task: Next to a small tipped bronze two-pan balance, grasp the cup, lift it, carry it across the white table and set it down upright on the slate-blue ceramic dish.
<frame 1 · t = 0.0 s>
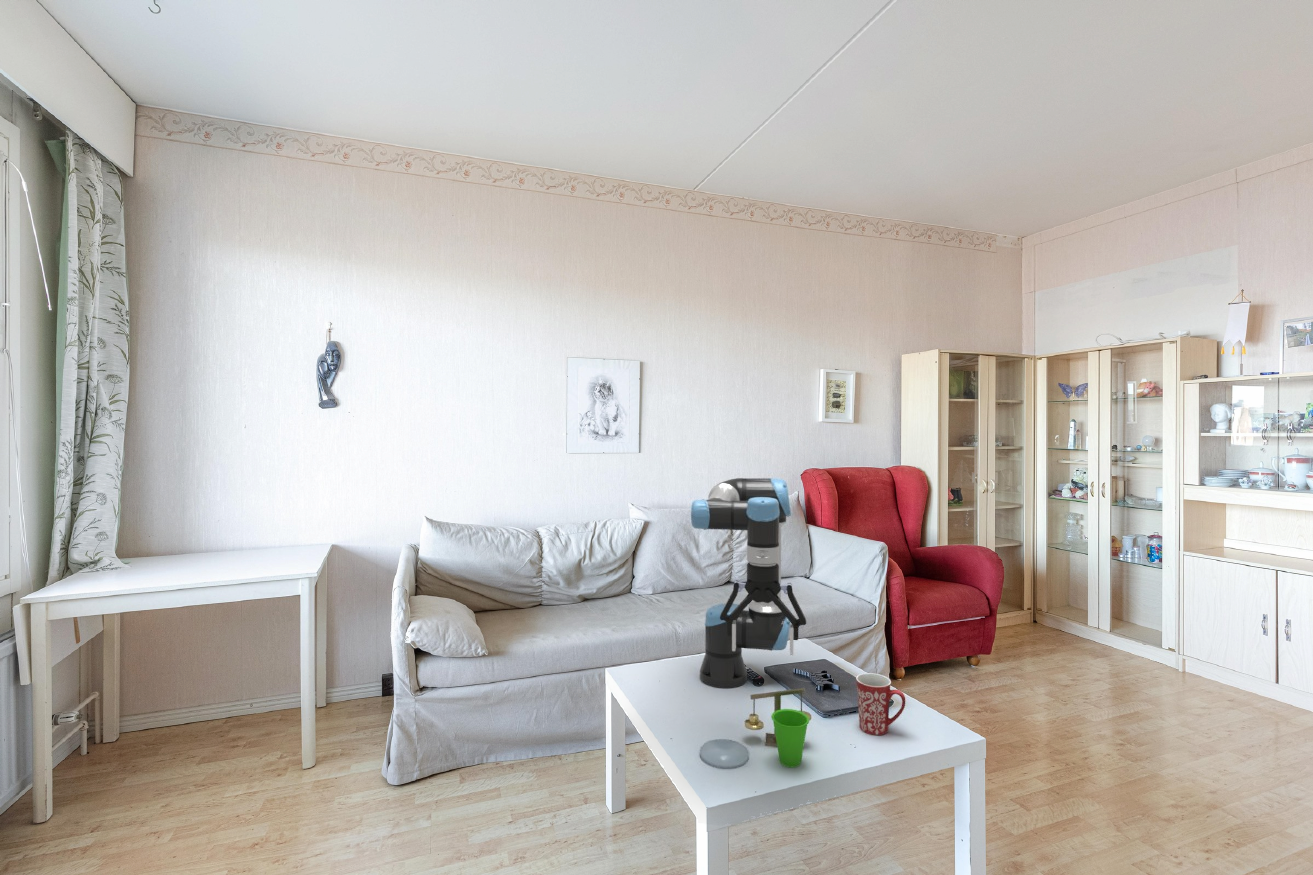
hand: (762, 651, 149), 28 cm above the table, fingers open, 13 cm apart
mug: (879, 731, 167), on the table
balance: (777, 741, 161), on the table
dish: (724, 755, 155), on the table
cup: (790, 762, 152), on the table
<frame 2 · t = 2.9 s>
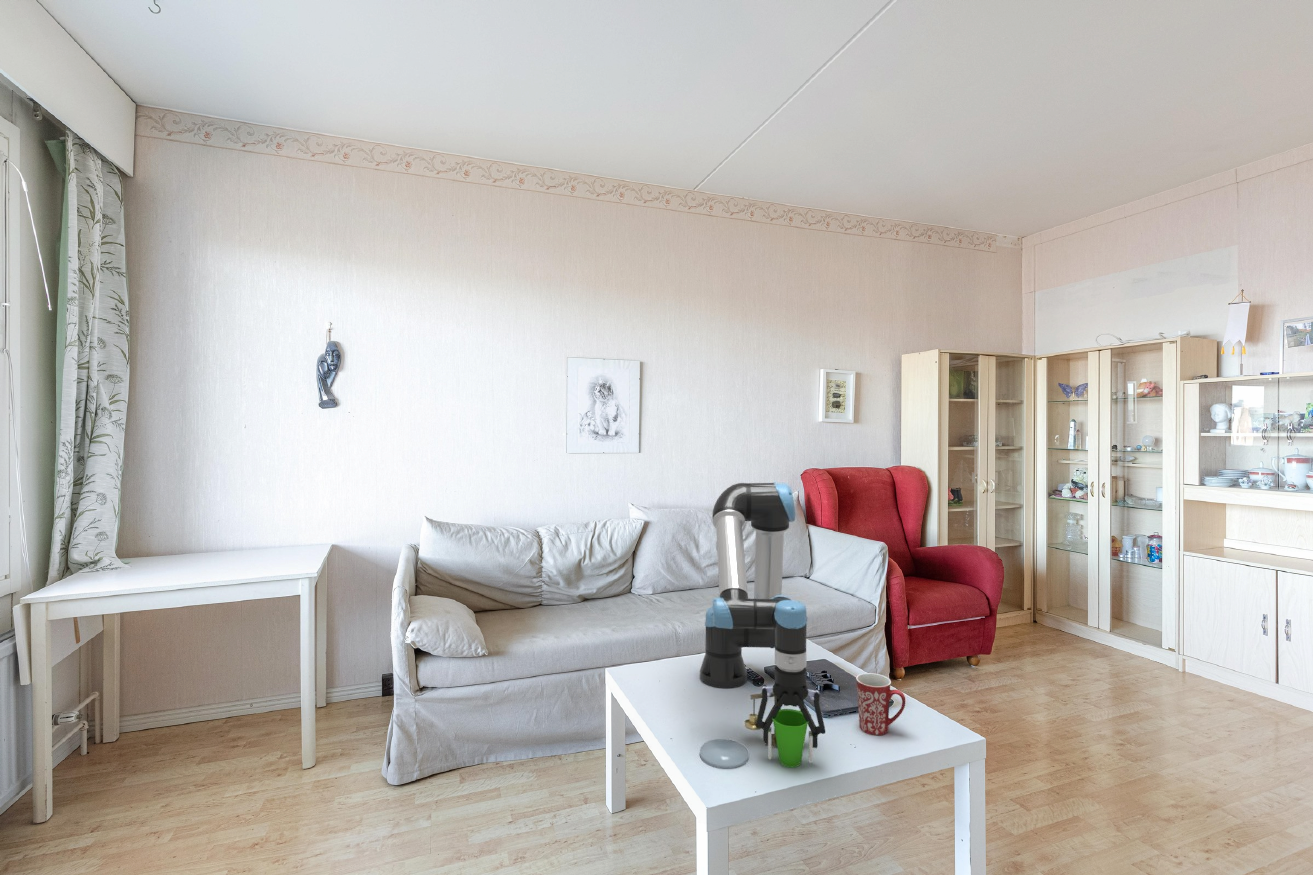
hand: (790, 757, 152), 1 cm above the table, fingers closed on cup, 9 cm apart
cup: (790, 762, 152), on the table, touching gripper
everything else where it was.
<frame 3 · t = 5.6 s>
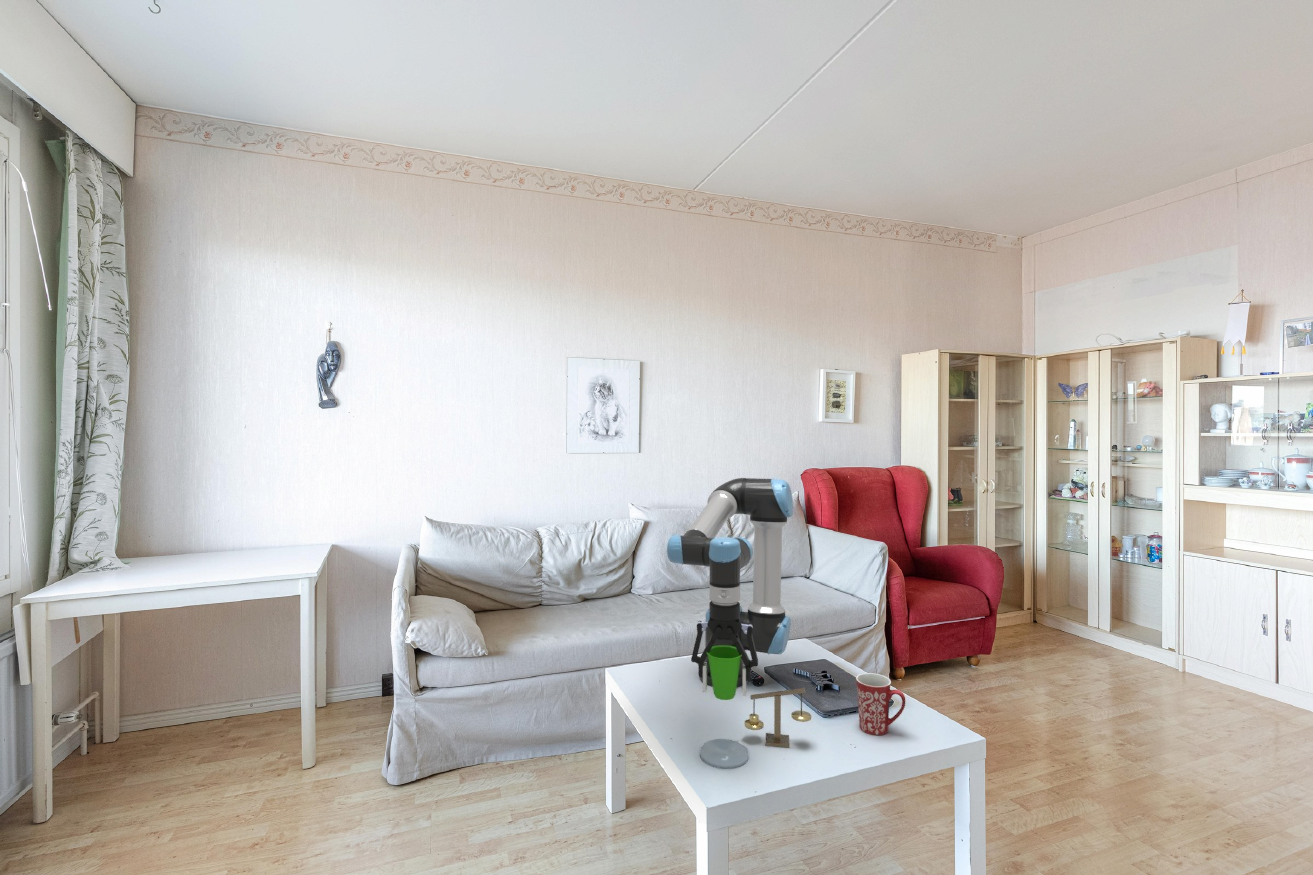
hand: (724, 691, 154), 16 cm above the table, fingers closed on cup, 9 cm apart
cup: (724, 696, 154), point 15 cm above the table, touching gripper
everything else where it was.
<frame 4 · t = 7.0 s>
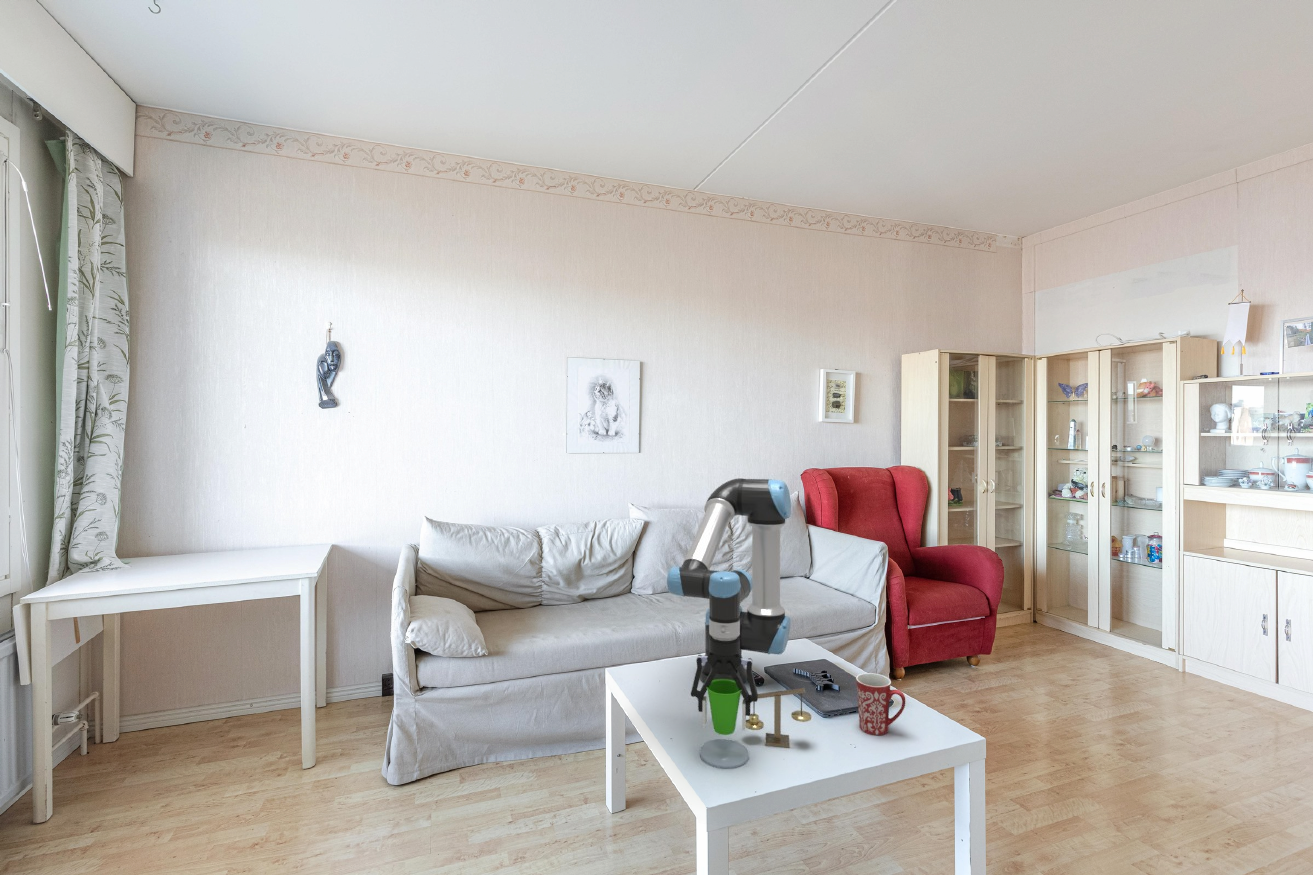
hand: (724, 725, 154), 7 cm above the table, fingers closed on cup, 9 cm apart
cup: (724, 730, 154), point 6 cm above the table, touching gripper
everything else where it was.
when the fingers open (4 cm above the table, at t = 8.2 s): cup drops 2 cm, resting on dish.
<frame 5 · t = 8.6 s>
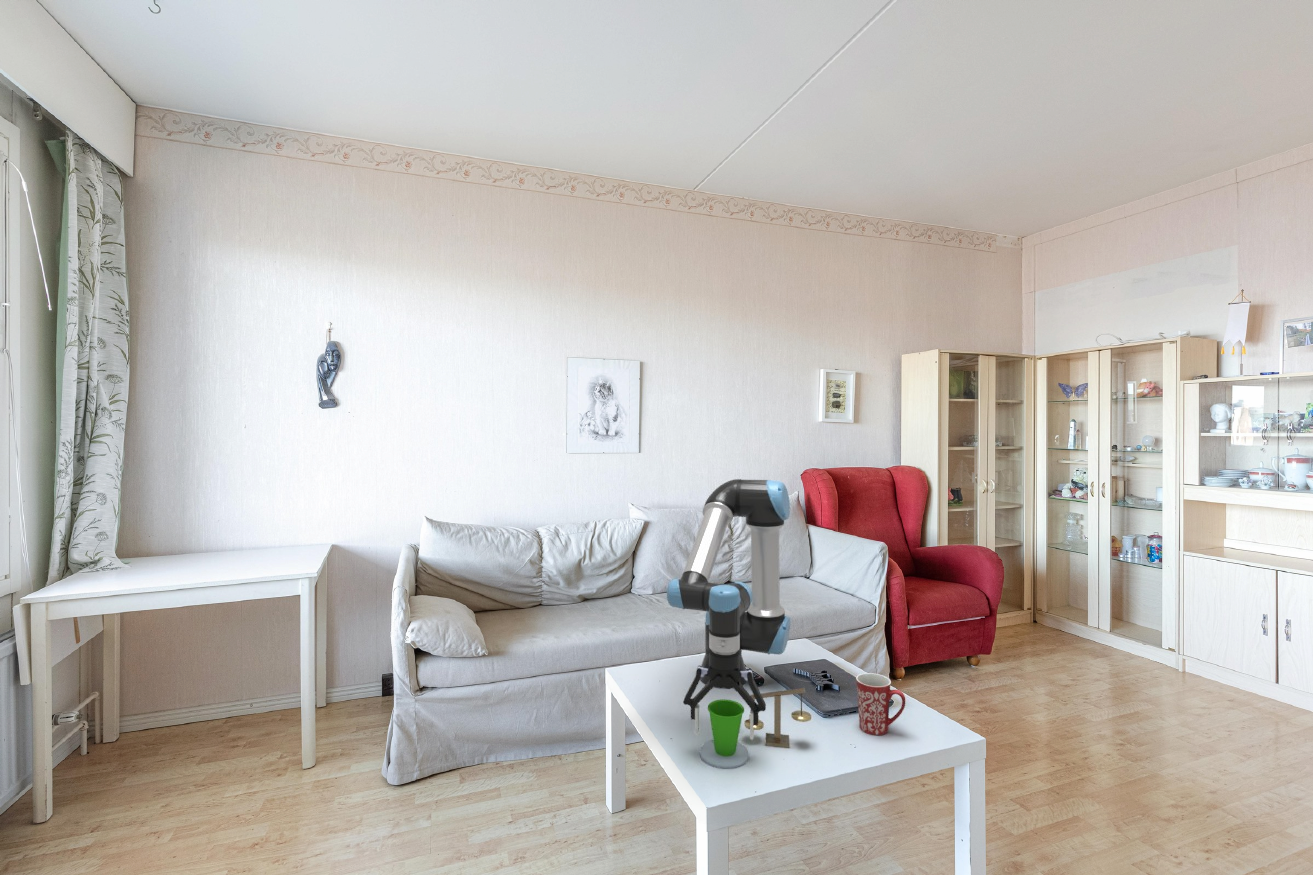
hand: (724, 734, 155), 5 cm above the table, fingers open, 13 cm apart
cup: (725, 751, 155), point 1 cm above the table, touching dish
everything else where it was.
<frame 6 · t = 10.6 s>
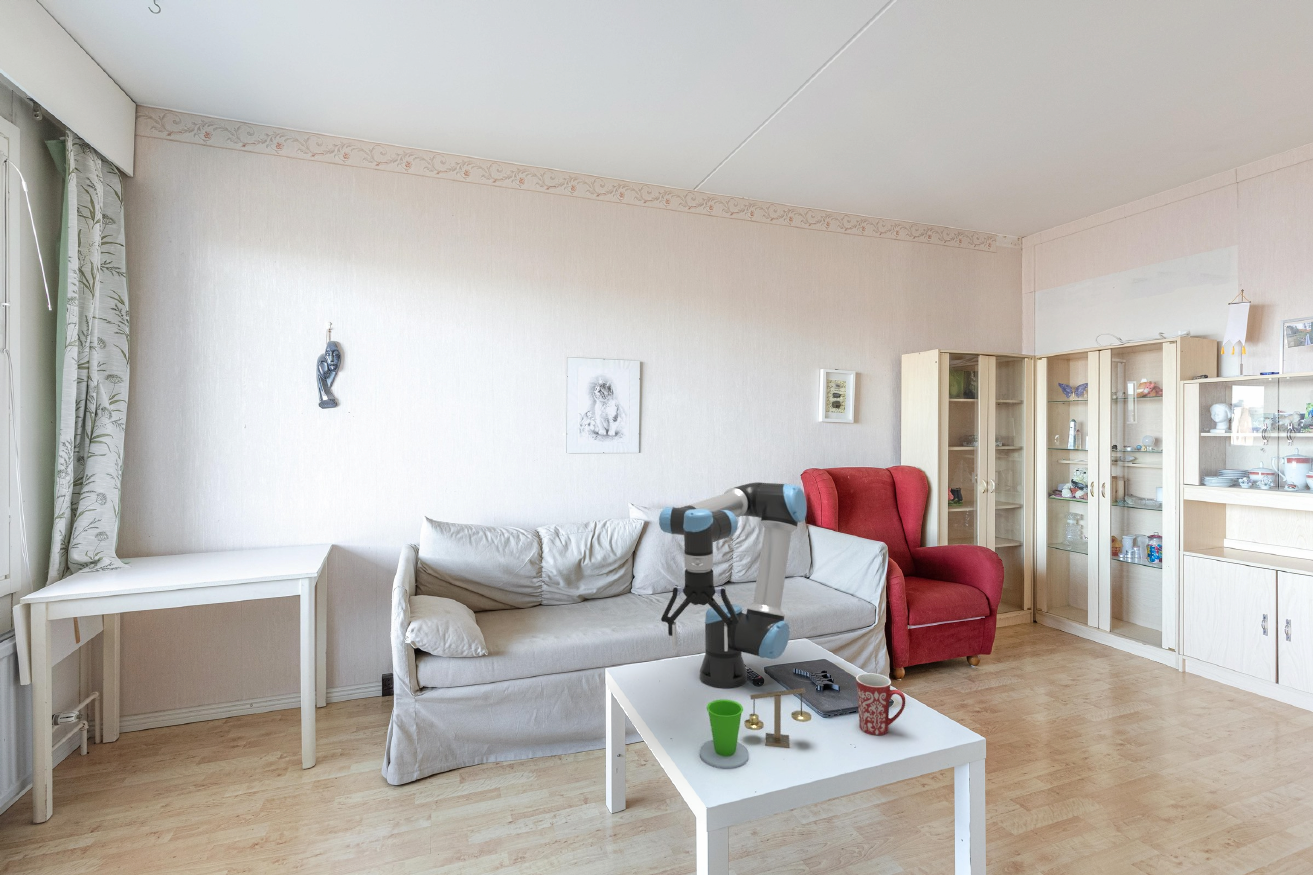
hand: (700, 648, 164), 23 cm above the table, fingers open, 13 cm apart
nothing on the table moved.
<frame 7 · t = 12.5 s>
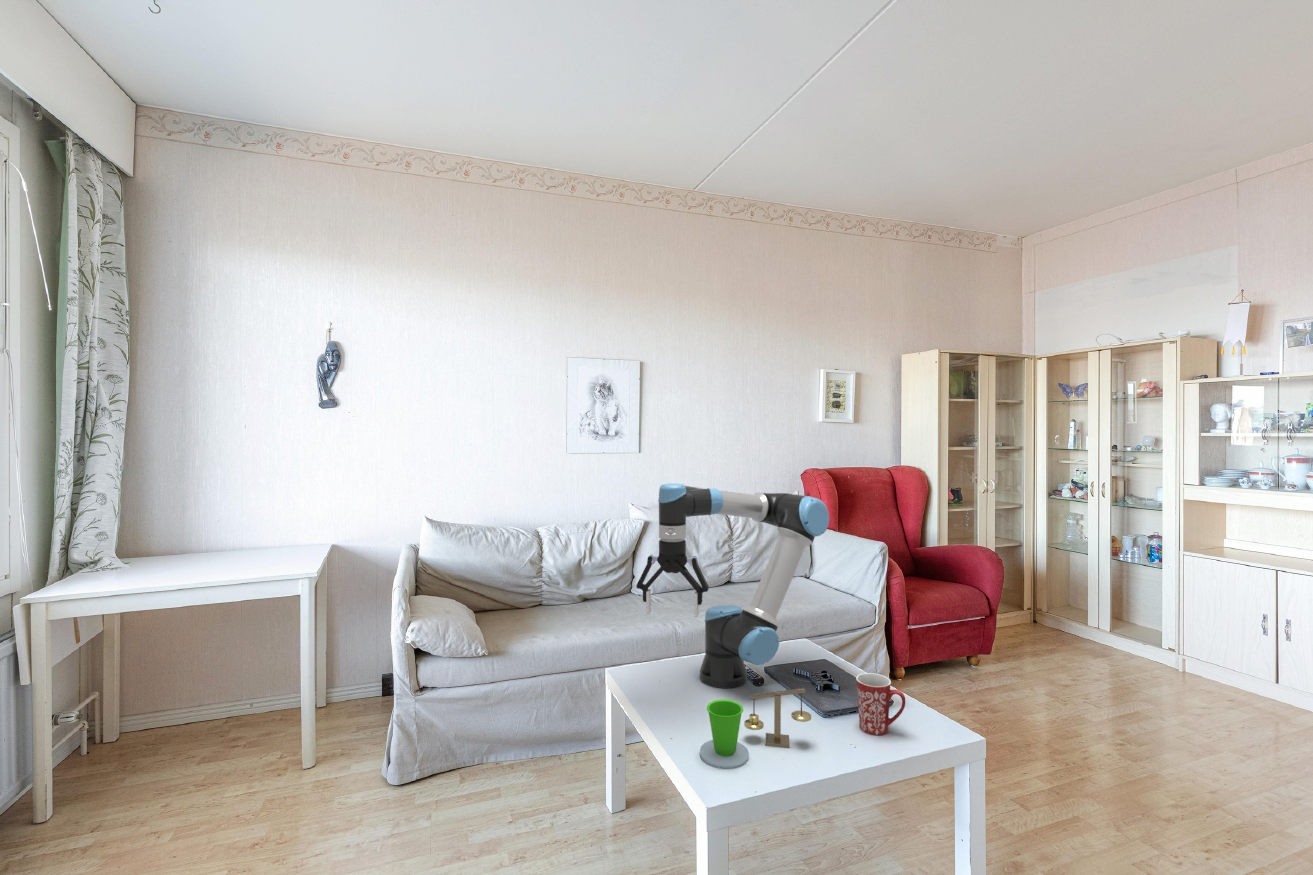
hand: (672, 614, 175), 29 cm above the table, fingers open, 13 cm apart
nothing on the table moved.
at the end: cup 0.2 cm from the dish (horizontally); cup tilted 0°; the gripper is holding nothing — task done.
